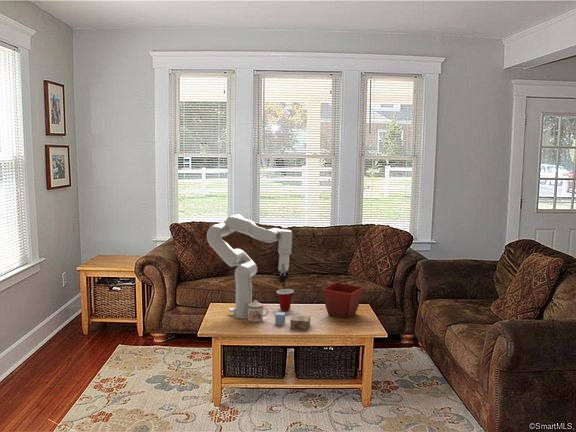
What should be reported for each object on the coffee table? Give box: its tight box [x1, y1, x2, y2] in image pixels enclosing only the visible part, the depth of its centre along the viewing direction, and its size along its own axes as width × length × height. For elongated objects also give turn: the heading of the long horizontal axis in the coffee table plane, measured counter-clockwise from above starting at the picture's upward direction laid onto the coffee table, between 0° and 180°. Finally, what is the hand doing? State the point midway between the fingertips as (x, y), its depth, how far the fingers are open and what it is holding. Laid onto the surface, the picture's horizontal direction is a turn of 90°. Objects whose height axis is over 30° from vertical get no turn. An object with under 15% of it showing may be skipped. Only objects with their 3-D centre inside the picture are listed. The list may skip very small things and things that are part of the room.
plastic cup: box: [276, 288, 294, 311], centre depth 337 cm, size 11×11×12 cm
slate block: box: [274, 311, 286, 326], centre depth 308 cm, size 5×5×6 cm
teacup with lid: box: [247, 299, 269, 323], centre depth 314 cm, size 12×9×12 cm
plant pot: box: [321, 282, 364, 319], centre depth 328 cm, size 19×19×17 cm
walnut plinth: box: [289, 314, 311, 331], centre depth 304 cm, size 10×10×5 cm
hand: (283, 280), depth 312 cm, fingers open, 9 cm apart
